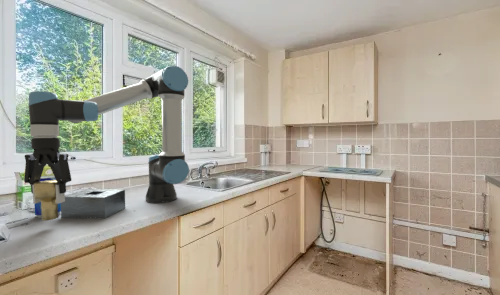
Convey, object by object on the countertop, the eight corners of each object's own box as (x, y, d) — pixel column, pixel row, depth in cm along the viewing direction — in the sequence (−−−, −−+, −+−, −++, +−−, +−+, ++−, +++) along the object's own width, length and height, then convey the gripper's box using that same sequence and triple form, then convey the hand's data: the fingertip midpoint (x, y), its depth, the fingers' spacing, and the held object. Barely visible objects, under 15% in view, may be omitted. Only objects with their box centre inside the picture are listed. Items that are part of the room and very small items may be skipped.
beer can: (31, 219, 92) (29, 179, 92) (39, 213, 100) (38, 175, 99) (57, 217, 96) (56, 177, 95) (64, 211, 103) (63, 174, 103)
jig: (125, 208, 108) (124, 189, 107) (105, 218, 94) (104, 197, 93) (86, 207, 108) (86, 189, 108) (61, 217, 94) (60, 196, 94)
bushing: (69, 214, 87) (67, 179, 86) (51, 222, 80) (49, 184, 79) (49, 214, 87) (47, 179, 87) (29, 222, 80) (27, 184, 79)
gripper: (82, 136, 85) (85, 199, 86) (27, 137, 86) (31, 199, 87) (65, 137, 78) (68, 205, 79) (5, 137, 79) (10, 205, 80)
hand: (49, 202), depth 83 cm, fingers closed on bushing, 8 cm apart
